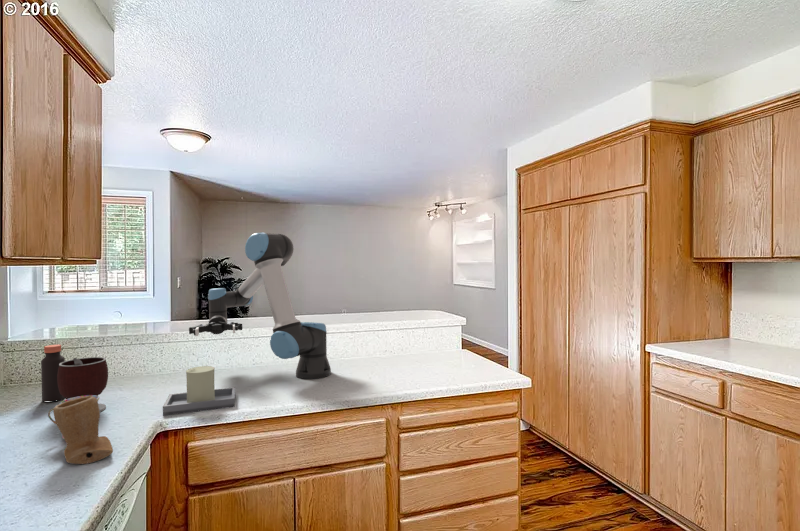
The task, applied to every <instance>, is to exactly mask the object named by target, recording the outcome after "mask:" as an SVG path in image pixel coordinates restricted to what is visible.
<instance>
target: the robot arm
mask: <svg viewBox="0 0 800 531" xmlns="http://www.w3.org/2000/svg"><path fill="white" fill-rule="evenodd" d="M244 249H245V250H244V252H245V256H246V258H248V259H249V261H253V262H254V266H255V269H254V270H253V271H252V272H251V273H250V274H249V275H248V277H247V278H246V279H245V280H244V281H243V282H242V283H241V285H239V287H238V288H237V289H236V290H231V291H227V289H226V288H225V287H218V288H210V289H209V290H208V297H207V298H208V310H209V311H208V313H209V314H208V317H209V320H208V323H206V324H205V325H204V324H198V325H195V326H190V327H188V334H189V335H192V334H193V336H195V337H199V334H201V333H205V332H206V333H211V334H213V335H220V334H221V335H222V333H224V332H226V331H232V334H236V332H237V331H242V330H243V323H239V322H234V321H232V322H230V323H228V314H227V312H228V308H235V307H236V308H237V307H244V306H247V305H250V304H252V302H253V299H254V295H255V294H256V293H257V291H259V289H260V288H261V287H262V286H263V285H264V289H265V293H266V295H267V299H268V302H269V307H270V310H271V315H272V319H273V322H274V326H273V327H272V334H271V337H270V339H269V345H270V349H271V351H272V353H273V354H274V355H275V356H276V357H278V358H279V359H282V360H287V359H288V360H289V359H293V358H296V357H299V360H298V363H297V365H296V369H295V376H296V377H297V378H299V379H304V380H313V379H314V380H315V379H322V378H325V377H328V376H330V375H331V374H332V368H331V365H330V362H329V359H328V357H327V356H328V354H327V333H328V332H327V326H326V324H325V323H323V322H314V321H313V322H312V321H311V322H309V321H305V322H304V321H303V322H301V320H299V319H297V318H296V315H295V311H294V308H293V305H292V301H291V297H290V292H289V291H288V287H287V283H286V280H285V275H284V272H283V268H282V267H284V266H285V265H286V264H287V263H288V262H289V261H290V259H291V258H292V256H293V253H294V250H295V249H294V243H293V240H292V239H290V238H289V236H287V235H285V234H282V233H270V232H255V233H253V234H251V235H250V236H249V237H248V238H247V239H246V243H245V247H244Z"/></svg>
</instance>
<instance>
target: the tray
mask: <svg viewBox="0 0 800 531" xmlns="http://www.w3.org/2000/svg"><path fill="white" fill-rule="evenodd" d="M235 405H236V386H235V387H234V386H233V387H225V388H223V387H222V388H215V400H208V401H199V402H191V403H187V391H186V392H178V393H177V392H176V393H169V394H168V397H167V398H166V399H165V402H164V403H163V406H162V416H172V415H181V414H187V413H195V412H196V413H197V412H205V411H213V410H221V409H229V408H235Z"/></svg>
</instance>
